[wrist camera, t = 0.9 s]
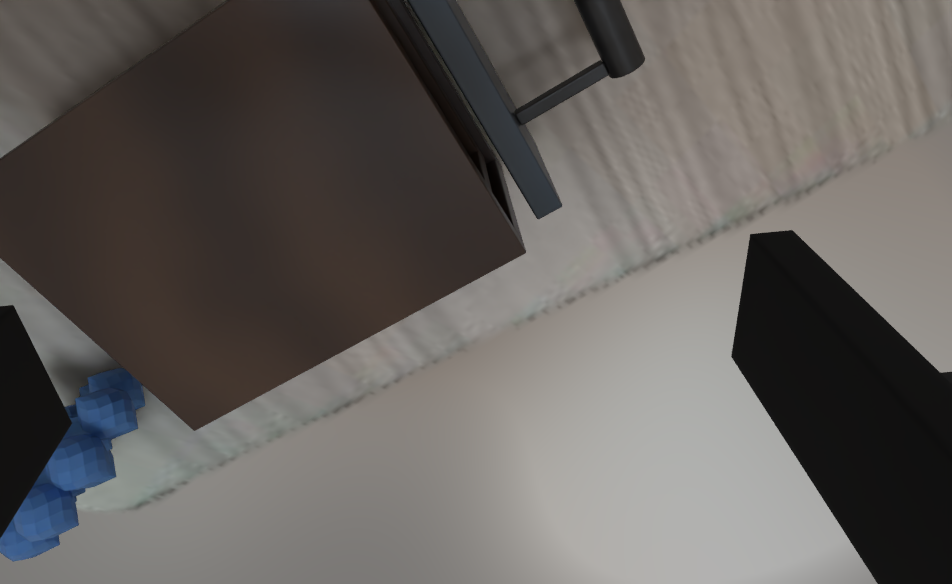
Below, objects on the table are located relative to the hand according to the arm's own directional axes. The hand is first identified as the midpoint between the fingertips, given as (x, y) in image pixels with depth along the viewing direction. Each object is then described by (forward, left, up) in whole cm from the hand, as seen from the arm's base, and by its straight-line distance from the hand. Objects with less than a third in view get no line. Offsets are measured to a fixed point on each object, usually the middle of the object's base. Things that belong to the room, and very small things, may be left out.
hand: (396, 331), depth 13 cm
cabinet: (+1, -8, -24) cm, 26 cm away
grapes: (+7, -27, -25) cm, 37 cm away
